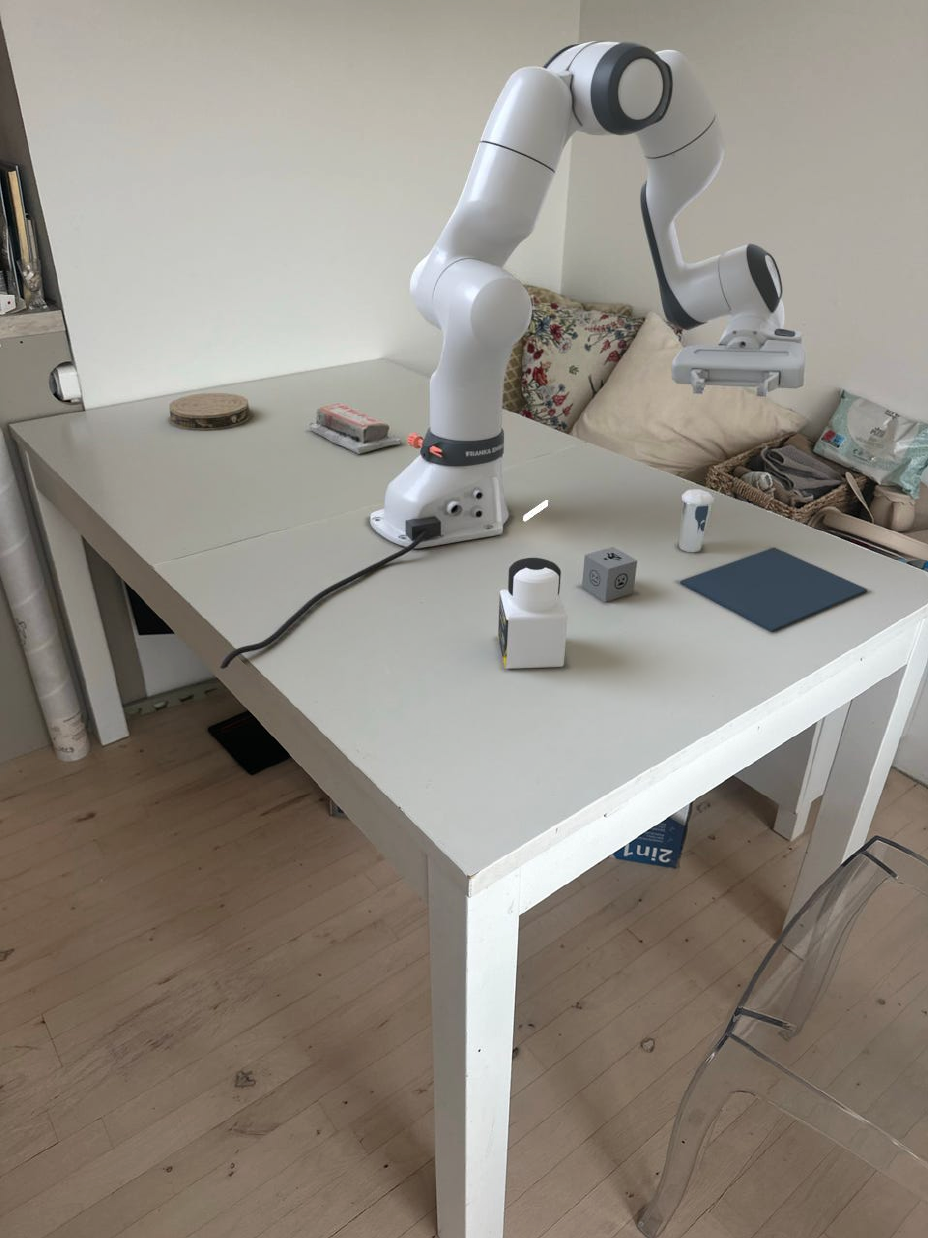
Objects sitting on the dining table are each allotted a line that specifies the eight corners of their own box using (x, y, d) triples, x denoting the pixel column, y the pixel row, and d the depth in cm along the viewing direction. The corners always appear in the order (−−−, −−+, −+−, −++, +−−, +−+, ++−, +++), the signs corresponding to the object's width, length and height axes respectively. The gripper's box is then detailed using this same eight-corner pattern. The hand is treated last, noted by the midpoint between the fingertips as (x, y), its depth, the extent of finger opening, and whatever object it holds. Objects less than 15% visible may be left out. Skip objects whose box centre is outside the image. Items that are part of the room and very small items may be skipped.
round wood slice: (241, 403, 198) (239, 389, 196) (257, 424, 185) (256, 410, 184) (165, 411, 192) (163, 397, 191) (177, 434, 180) (175, 419, 178)
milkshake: (711, 556, 135) (721, 493, 130) (674, 552, 136) (683, 490, 131) (710, 543, 139) (720, 482, 134) (674, 540, 140) (683, 479, 135)
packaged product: (306, 407, 180) (348, 398, 185) (308, 431, 182) (349, 422, 188) (357, 430, 168) (401, 420, 174) (358, 455, 170) (401, 445, 176)
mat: (771, 632, 116) (772, 629, 116) (680, 583, 127) (680, 580, 127) (866, 591, 126) (867, 589, 126) (773, 549, 137) (774, 547, 137)
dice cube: (633, 593, 125) (637, 560, 122) (605, 602, 122) (608, 569, 120) (609, 578, 128) (613, 546, 126) (581, 587, 126) (584, 554, 123)
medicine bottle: (497, 638, 114) (500, 552, 108) (553, 636, 114) (560, 550, 108) (504, 670, 108) (508, 580, 101) (564, 667, 108) (571, 578, 102)
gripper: (681, 330, 149) (660, 368, 140) (813, 332, 141) (800, 373, 131) (681, 366, 153) (661, 406, 144) (810, 370, 145) (797, 412, 135)
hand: (729, 390), depth 137 cm, fingers open, 8 cm apart
